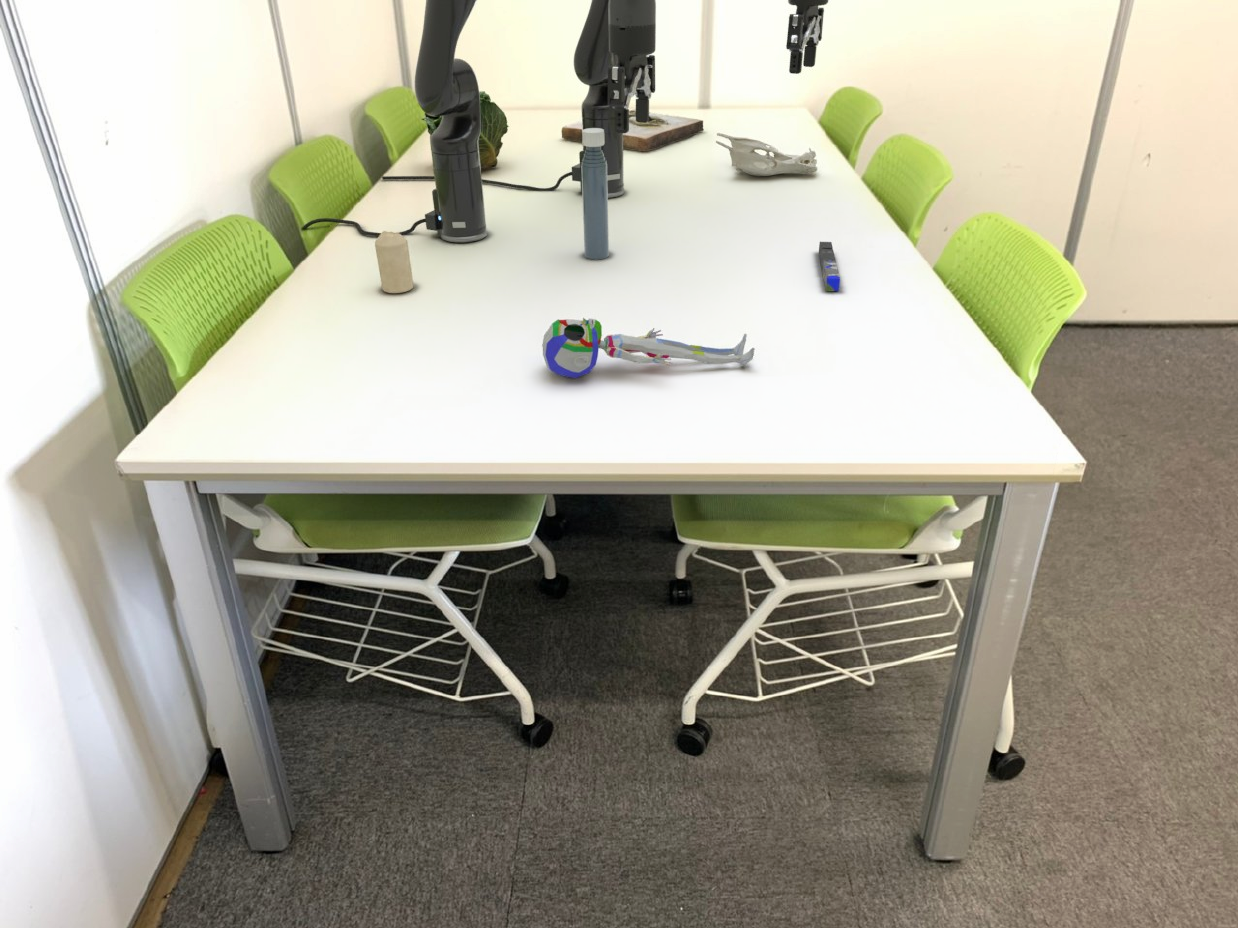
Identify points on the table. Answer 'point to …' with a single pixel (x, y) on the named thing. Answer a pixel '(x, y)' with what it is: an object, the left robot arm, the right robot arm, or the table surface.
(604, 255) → the bottle
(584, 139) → the cap
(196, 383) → the table surface
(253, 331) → the table surface
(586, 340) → the toy
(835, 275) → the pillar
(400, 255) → the candle
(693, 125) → the plaque
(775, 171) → the anatomical model
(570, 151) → the table surface
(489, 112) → the vegetable
